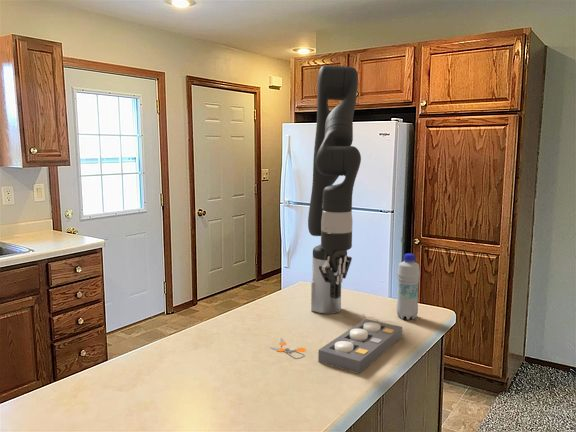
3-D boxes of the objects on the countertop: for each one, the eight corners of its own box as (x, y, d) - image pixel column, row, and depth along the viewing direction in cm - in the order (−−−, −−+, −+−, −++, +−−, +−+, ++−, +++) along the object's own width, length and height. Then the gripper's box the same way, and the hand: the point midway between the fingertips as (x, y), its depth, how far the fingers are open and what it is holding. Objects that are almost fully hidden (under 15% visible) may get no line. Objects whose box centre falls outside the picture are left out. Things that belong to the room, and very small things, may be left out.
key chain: (315, 353, 122) (315, 350, 122) (293, 362, 117) (293, 358, 117) (283, 338, 131) (283, 335, 131) (261, 345, 127) (261, 342, 126)
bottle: (416, 313, 150) (418, 251, 147) (420, 321, 143) (422, 256, 141) (394, 313, 151) (396, 250, 148) (397, 320, 144) (399, 255, 141)
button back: (376, 336, 128) (376, 329, 127) (360, 333, 130) (360, 326, 130) (383, 331, 131) (383, 324, 131) (367, 327, 134) (367, 321, 134)
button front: (347, 358, 115) (348, 350, 114) (331, 353, 117) (331, 345, 117) (356, 351, 118) (356, 343, 118) (340, 347, 121) (340, 339, 121)
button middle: (362, 344, 121) (362, 336, 121) (346, 340, 124) (346, 332, 123) (370, 338, 125) (370, 331, 125) (354, 334, 127) (354, 327, 127)
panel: (359, 373, 110) (359, 360, 110) (318, 361, 116) (318, 349, 116) (401, 337, 131) (402, 326, 131) (365, 328, 138) (365, 318, 137)
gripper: (336, 223, 124) (334, 288, 127) (309, 231, 113) (308, 301, 116) (362, 226, 120) (360, 293, 122) (337, 235, 109) (335, 308, 112)
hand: (335, 297), depth 119 cm, fingers closed
